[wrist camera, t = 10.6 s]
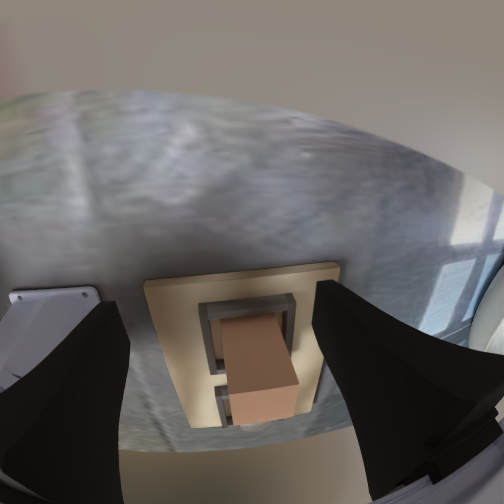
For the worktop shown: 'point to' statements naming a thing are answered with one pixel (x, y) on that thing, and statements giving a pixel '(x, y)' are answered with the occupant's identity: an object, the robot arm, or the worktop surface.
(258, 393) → the tan tall block
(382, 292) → the worktop surface
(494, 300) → the serving bowl
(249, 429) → the pin
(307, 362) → the board
